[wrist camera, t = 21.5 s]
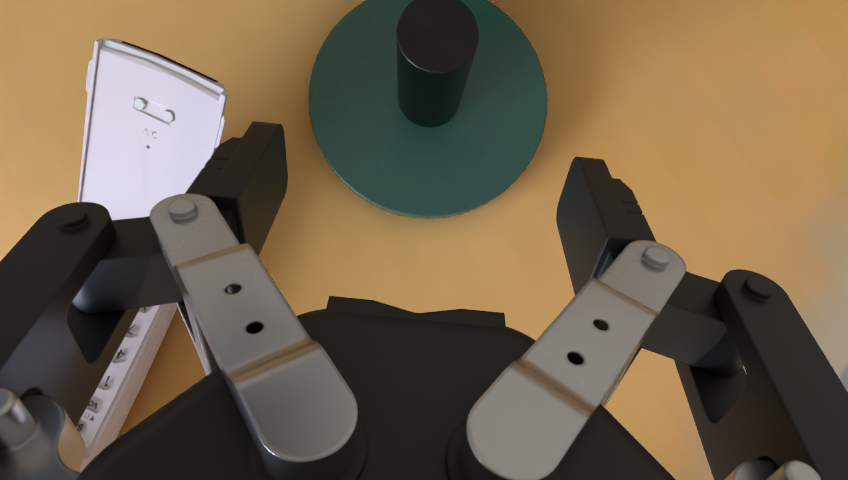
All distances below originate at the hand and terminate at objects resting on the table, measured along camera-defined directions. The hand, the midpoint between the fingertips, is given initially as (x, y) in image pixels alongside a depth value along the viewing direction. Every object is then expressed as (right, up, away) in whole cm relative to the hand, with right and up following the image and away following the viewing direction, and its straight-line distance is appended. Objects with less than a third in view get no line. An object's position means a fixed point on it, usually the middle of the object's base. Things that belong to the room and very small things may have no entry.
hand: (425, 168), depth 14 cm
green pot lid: (0, +5, +11) cm, 12 cm away
